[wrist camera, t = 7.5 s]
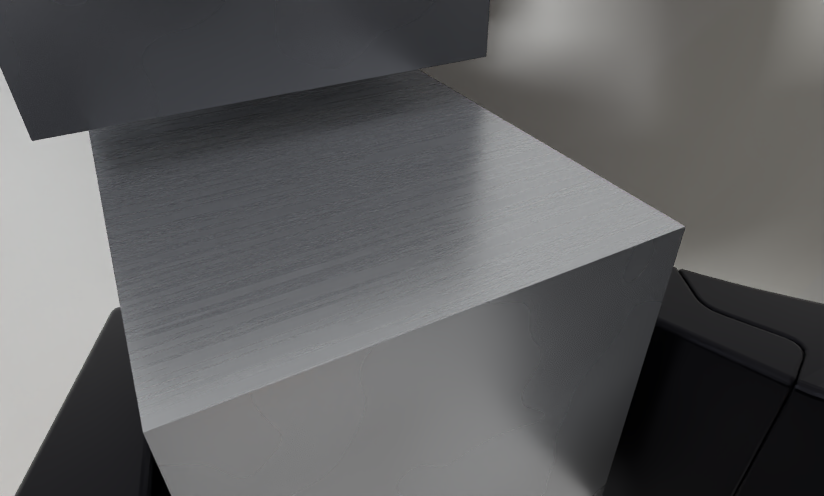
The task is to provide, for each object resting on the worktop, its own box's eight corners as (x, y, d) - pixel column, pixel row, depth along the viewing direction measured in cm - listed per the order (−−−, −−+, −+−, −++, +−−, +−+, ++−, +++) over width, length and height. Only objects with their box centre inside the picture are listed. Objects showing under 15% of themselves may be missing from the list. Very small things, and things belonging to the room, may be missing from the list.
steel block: (381, 291, 12) (583, 554, 7) (178, 361, 10) (281, 740, 6) (367, 39, 9) (685, 226, 4) (80, 86, 7) (144, 432, 3)
